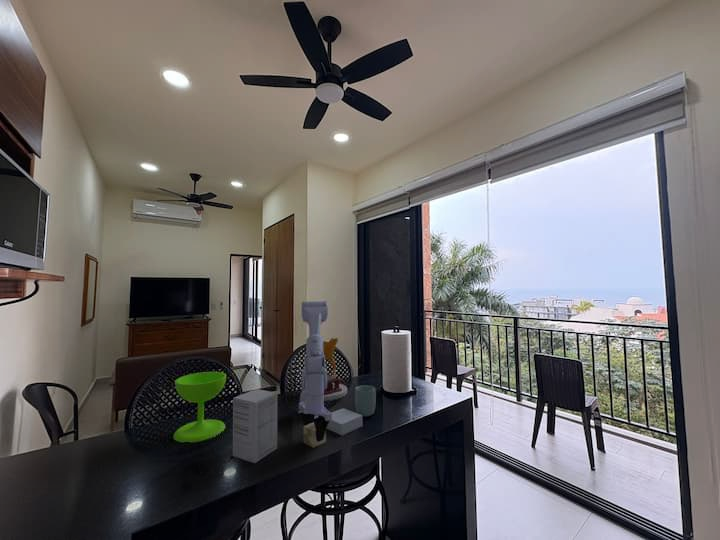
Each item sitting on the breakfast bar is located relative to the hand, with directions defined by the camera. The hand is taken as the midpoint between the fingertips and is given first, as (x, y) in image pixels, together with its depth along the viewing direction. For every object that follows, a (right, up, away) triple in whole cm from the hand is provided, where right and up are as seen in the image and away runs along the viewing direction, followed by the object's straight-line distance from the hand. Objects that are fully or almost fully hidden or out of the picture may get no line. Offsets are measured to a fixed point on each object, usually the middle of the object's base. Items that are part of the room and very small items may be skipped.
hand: (314, 437), depth 100 cm
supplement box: (-17, -1, -6) cm, 18 cm away
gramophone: (-2, -5, +47) cm, 47 cm away
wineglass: (-41, -2, +8) cm, 41 cm away
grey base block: (+8, -3, +11) cm, 14 cm away
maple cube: (0, -1, 0) cm, 2 cm away
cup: (+16, -3, +21) cm, 27 cm away
